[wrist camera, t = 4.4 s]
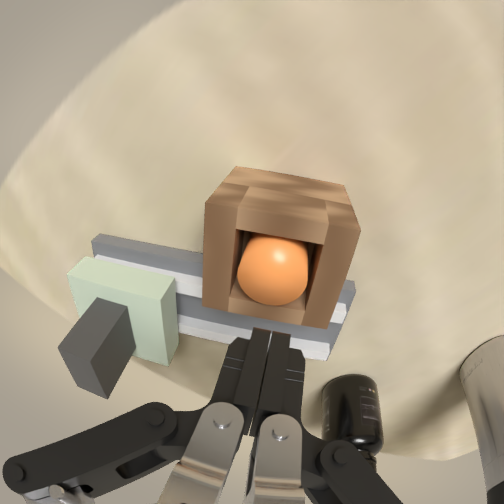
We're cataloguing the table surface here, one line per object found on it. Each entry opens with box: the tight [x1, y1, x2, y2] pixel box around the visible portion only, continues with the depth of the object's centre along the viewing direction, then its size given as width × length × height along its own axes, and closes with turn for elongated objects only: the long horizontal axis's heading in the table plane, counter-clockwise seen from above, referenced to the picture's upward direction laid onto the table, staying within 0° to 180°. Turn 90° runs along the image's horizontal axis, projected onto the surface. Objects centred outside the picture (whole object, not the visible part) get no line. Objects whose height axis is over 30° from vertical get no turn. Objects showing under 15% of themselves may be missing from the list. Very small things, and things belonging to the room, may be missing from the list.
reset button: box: [237, 232, 308, 306], centre depth 18 cm, size 4×4×4 cm
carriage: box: [58, 256, 179, 399], centre depth 22 cm, size 9×8×9 cm
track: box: [91, 234, 356, 361], centre depth 27 cm, size 24×9×3 cm, turn 83°
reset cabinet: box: [202, 166, 361, 329], centre depth 20 cm, size 9×7×8 cm
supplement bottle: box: [322, 374, 384, 471], centre depth 27 cm, size 7×7×12 cm
